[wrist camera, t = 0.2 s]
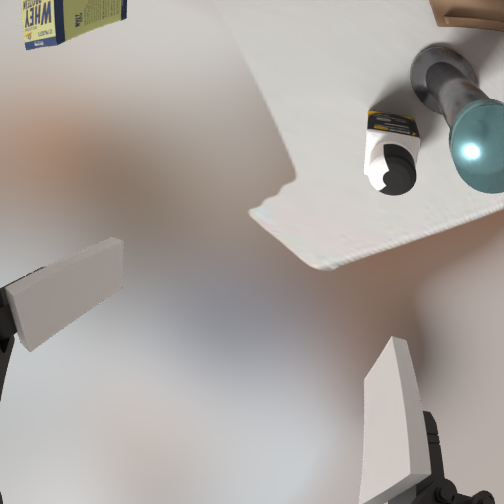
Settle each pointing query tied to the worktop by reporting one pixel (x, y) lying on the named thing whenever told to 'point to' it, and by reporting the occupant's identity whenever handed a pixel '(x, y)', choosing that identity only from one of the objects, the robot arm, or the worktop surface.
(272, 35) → the worktop surface
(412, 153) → the medicine bottle
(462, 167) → the bobbin post
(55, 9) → the protein box
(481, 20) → the notched board
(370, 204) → the worktop surface
